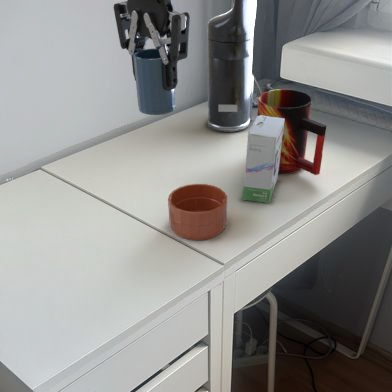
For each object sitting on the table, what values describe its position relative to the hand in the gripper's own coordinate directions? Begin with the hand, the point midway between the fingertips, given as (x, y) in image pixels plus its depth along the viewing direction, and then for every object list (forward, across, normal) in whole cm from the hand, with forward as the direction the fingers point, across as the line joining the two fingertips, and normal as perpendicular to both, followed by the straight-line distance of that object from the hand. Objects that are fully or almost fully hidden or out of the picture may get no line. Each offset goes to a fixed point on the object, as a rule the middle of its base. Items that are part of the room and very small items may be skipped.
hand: (155, 84), depth 80 cm
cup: (+4, 0, 0) cm, 4 cm away
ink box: (+18, -14, -11) cm, 26 cm away
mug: (+18, -12, -23) cm, 32 cm away
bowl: (+18, -13, +5) cm, 23 cm away
